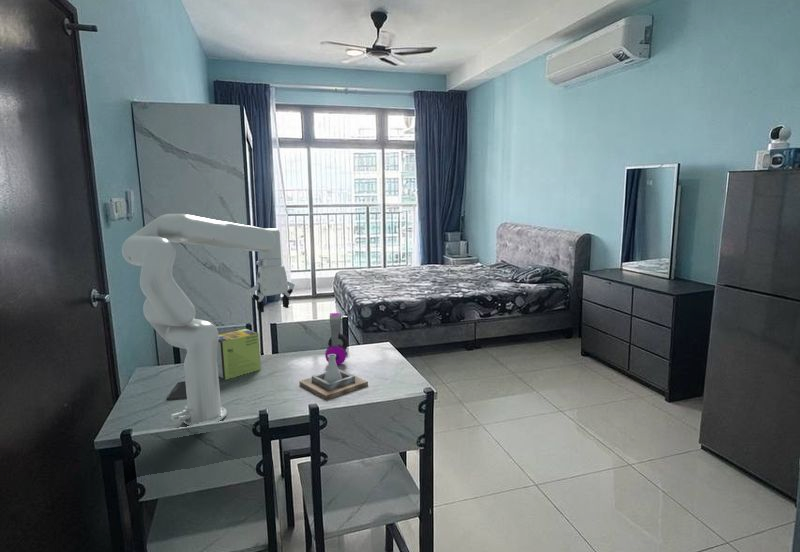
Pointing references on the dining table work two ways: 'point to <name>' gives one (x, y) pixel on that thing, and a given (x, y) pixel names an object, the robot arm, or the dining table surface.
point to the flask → (332, 370)
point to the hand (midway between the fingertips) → (273, 309)
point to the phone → (178, 391)
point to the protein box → (238, 353)
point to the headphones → (336, 340)
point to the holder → (333, 384)
